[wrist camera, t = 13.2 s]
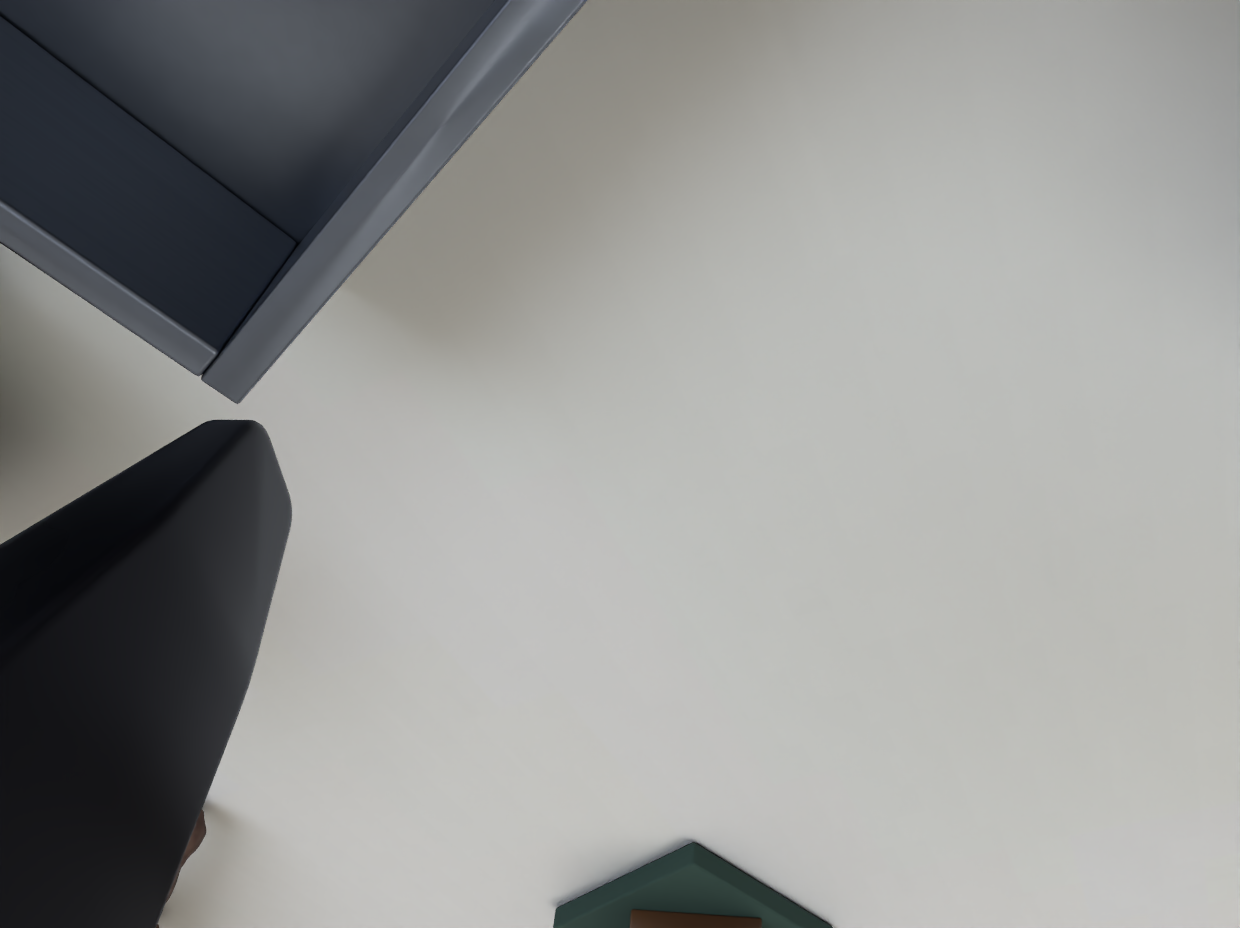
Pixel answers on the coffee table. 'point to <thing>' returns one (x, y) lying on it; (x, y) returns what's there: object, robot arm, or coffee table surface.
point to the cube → (689, 920)
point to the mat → (684, 895)
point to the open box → (237, 150)
